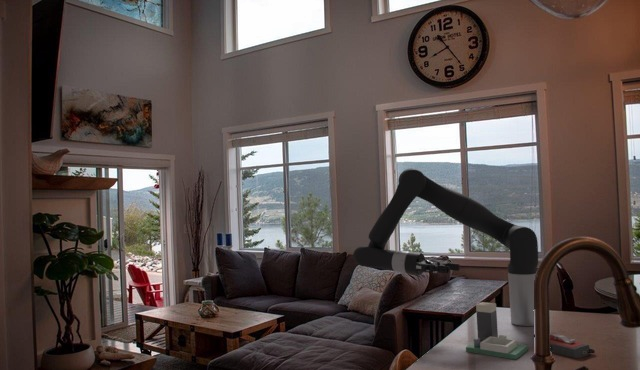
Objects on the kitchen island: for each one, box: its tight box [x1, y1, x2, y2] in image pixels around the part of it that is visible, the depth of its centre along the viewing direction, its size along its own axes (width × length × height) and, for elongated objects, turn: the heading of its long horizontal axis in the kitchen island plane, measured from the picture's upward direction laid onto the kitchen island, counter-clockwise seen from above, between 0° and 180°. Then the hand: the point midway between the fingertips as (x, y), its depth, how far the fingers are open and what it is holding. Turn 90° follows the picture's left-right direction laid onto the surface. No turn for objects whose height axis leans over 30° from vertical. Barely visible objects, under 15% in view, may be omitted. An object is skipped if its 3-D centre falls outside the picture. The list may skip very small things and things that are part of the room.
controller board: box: [465, 334, 529, 360], centre depth 140 cm, size 10×14×4 cm
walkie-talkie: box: [533, 333, 596, 359], centre depth 140 cm, size 9×4×20 cm
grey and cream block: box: [475, 301, 499, 339], centre depth 151 cm, size 4×4×11 cm
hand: (454, 268), depth 157 cm, fingers open, 8 cm apart
